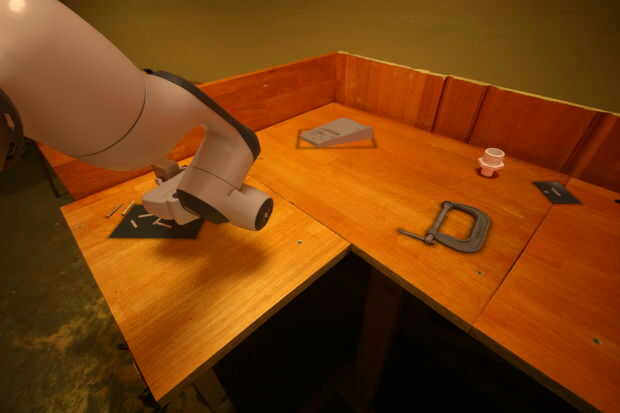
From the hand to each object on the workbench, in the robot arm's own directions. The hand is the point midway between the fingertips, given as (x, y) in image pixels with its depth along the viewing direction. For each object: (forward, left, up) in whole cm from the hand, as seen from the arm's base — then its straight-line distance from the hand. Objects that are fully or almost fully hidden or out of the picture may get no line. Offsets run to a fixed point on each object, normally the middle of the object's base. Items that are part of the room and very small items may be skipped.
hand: (166, 175), depth 71 cm
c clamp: (+68, -1, -15) cm, 70 cm away
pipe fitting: (+87, +23, -15) cm, 92 cm away
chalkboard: (-6, 0, -15) cm, 16 cm away
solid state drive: (+102, +13, -15) cm, 104 cm away
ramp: (+41, +48, -15) cm, 65 cm away
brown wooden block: (+1, 0, -6) cm, 7 cm away
